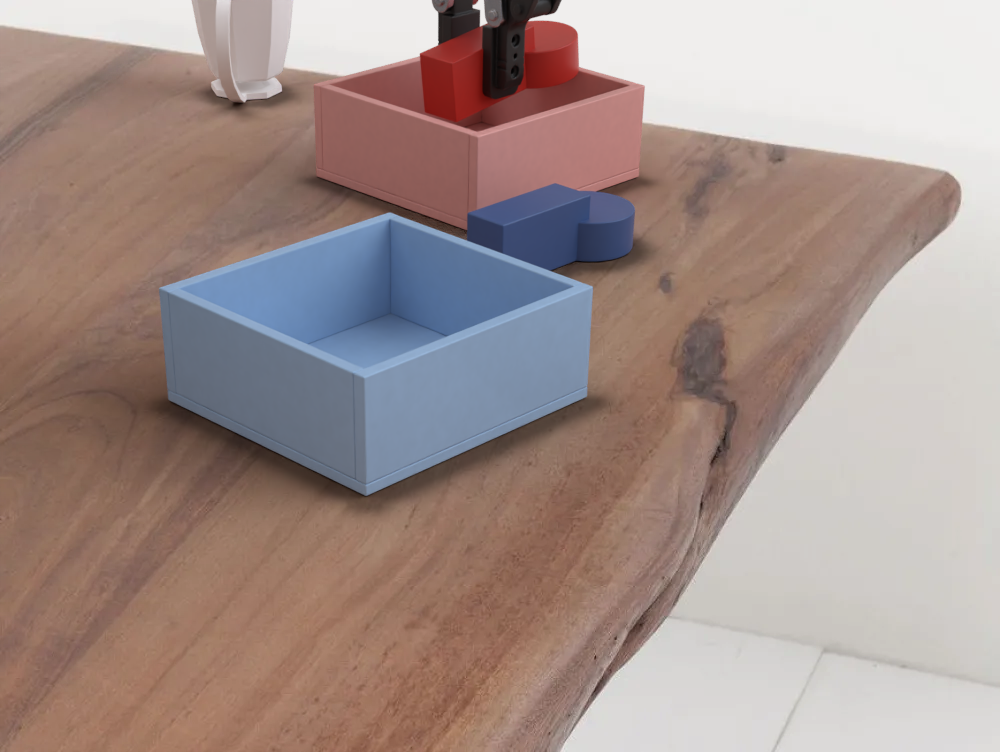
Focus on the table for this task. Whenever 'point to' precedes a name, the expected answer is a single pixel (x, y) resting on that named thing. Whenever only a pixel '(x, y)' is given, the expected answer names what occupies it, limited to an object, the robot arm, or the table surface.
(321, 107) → the rose bin
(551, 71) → the red rounded block
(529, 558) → the table surface
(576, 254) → the dark blue rounded block
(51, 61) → the table surface
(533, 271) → the blue bin
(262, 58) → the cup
